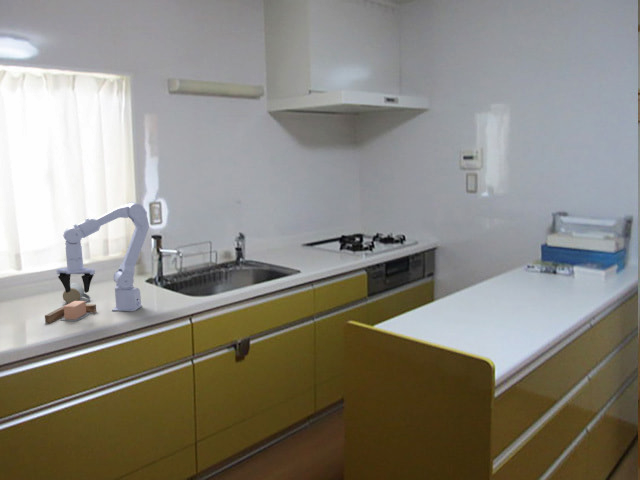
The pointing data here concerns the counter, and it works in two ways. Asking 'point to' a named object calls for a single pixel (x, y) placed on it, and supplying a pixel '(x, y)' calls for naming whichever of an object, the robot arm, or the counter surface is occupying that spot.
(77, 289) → the ceramic mug
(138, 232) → the robot arm
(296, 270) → the counter surface
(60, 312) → the brown l-shaped piece
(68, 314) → the block
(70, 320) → the mat
